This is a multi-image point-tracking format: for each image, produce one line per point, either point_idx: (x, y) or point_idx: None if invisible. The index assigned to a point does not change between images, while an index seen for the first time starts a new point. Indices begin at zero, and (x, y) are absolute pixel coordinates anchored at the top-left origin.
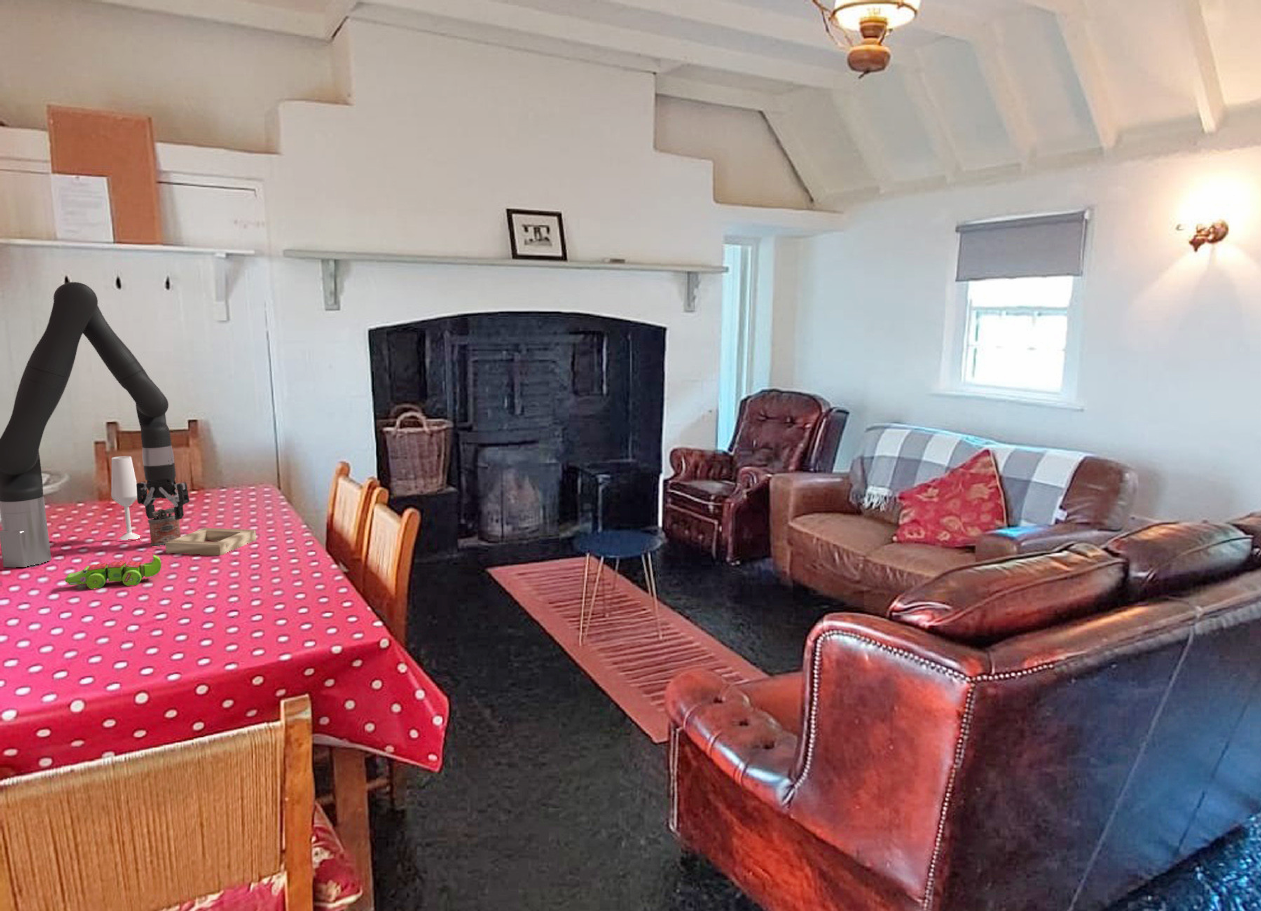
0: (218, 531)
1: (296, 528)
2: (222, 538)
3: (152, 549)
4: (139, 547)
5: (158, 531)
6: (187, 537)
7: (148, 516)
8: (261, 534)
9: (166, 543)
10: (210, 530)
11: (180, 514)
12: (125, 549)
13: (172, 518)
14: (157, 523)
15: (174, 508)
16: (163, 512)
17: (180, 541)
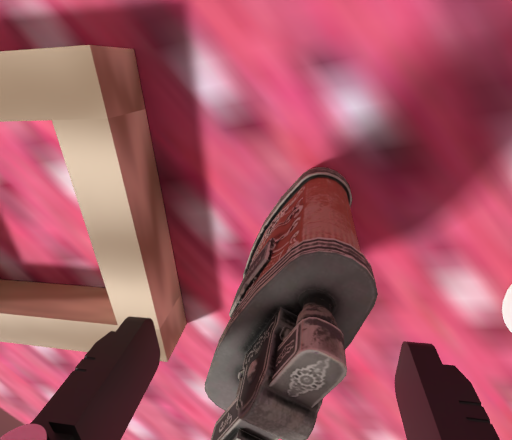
0: (62, 317)
1: (12, 413)
2: (70, 293)
3: (284, 117)
4: (401, 146)
5: (287, 230)
6: (79, 195)
7: (427, 357)
8: (40, 363)
9: (84, 45)
10: (99, 324)
11: (89, 356)
12: (474, 84)
13: (216, 351)
14: (279, 262)
15: (78, 408)
16: (249, 386)
17: (27, 98)
